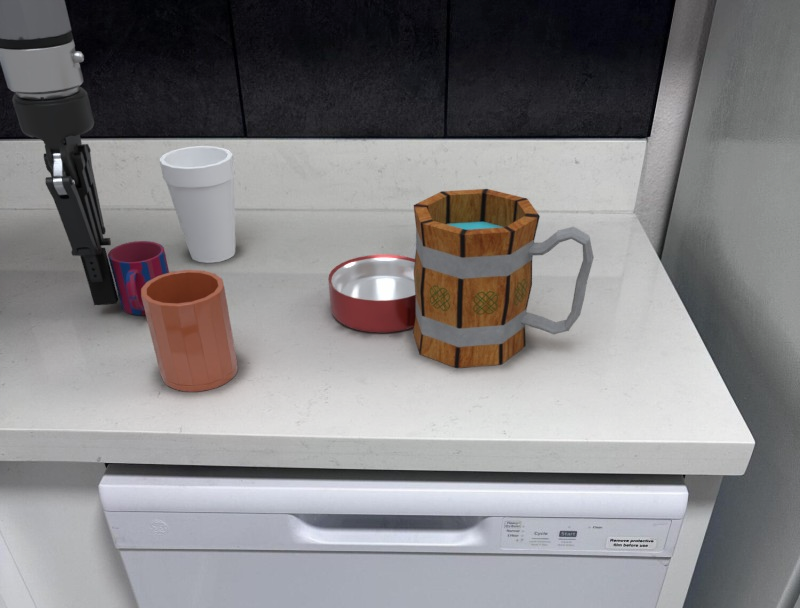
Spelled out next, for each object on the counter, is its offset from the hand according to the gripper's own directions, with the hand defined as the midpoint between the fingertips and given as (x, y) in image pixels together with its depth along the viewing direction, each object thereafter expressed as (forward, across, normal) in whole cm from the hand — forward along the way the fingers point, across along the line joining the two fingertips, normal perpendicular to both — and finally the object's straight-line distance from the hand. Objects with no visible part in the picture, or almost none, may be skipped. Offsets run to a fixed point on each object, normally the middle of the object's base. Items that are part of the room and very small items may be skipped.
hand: (106, 301), depth 98 cm
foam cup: (+2, +17, -12) cm, 21 cm away
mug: (+2, -14, -46) cm, 48 cm away
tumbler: (+2, -16, -12) cm, 20 cm away
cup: (+2, 0, -4) cm, 5 cm away
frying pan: (+2, +4, -38) cm, 38 cm away
